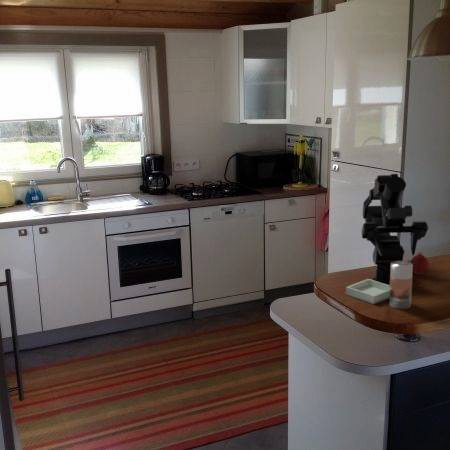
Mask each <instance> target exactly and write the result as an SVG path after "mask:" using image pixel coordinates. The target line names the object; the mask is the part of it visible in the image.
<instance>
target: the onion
mask: <svg viewBox="0 0 450 450" xmlns="http://www.w3.org/2000/svg"><path fill="white" fill-rule="evenodd" d="M409 262H410V263H412V264H413V270H412V273H415V275H417V276H421V275H422V274H424V273H426V272H427V271H428V269H429V267H430V264H429V260H428V258H427V257H426V256H425V255H423V252H421V251H419V252H417V254H416V255H413V257H412V258H411V260H410V261H409Z"/></svg>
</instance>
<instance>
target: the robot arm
mask: <svg viewBox="0 0 450 450" xmlns="http://www.w3.org/2000/svg"><path fill="white" fill-rule="evenodd" d="M406 187H407V182H406V181H405V180H404V178H402V177H400V176H399V175H398V173H391V174H380V175H377V176H376V178H375V179H374V187H373V188H371V189H369V193H368V196H367V197H366V199H364V201H363V204H362V218H363V219H364V223H363V225H362V227H361V228H362V229H361V239H366V241H368V242H370V243H371V244H372V245H373V246H374V249H373V251H372V261H373V263H374V265H375V266H376V268H375V269H376V273H375V277H373V278H372V280H374V281H377V282H381V283H384V284H387V285H390V271H391V263H392V262H394V261H404V255H405V250H404V247H403V245H401V242H400V240H399V237H398V236H397V235H391V233H392V234H393V233H394V234H396V233H399V234H403V233H409V234H410V238H409V239H410V249H411V254H412V256H415V254H416V248H417V244H418V241H419V240H421V239H423V238H425V237H426V235H427V232H428V230H429V225H428V223H427V222H426V221H421V220H420V221H413V222H412V224H411V225H404V224H405V223H406V219H407V218H410V217H412V216H413V207H412V205H405V206H404V207H401V200H402V198H403V195H404V193H405V190H406ZM373 201H380V205H371V203H372V202H373Z"/></svg>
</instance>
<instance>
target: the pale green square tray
mask: <svg viewBox="0 0 450 450" xmlns="http://www.w3.org/2000/svg"><path fill="white" fill-rule="evenodd" d="M345 295H346V296H349V297H353V298H355V299H357V300H360V301H364V302H366V303H369V304H371V305H375V304H378V303H381V302H383V301H385V300H388V299H390V285H387V284H384V283H381V282H377V281H374V280H373V279H370V278H366V279H364V280H361V281H358V282H356V283H354V284H350V285H348V286H346V287H345Z"/></svg>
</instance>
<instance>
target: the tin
mask: <svg viewBox="0 0 450 450" xmlns="http://www.w3.org/2000/svg"><path fill="white" fill-rule="evenodd" d="M410 262H411V261H406V260H405V261H404V260H403V261H394V262H392V263H391V271H390V298H389V306H390V307H392V308H393V309H397V310H406V309H409V308H411V307H412V293H413V292H412V291H413V290H412V289H413V264H412V263H410Z"/></svg>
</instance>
